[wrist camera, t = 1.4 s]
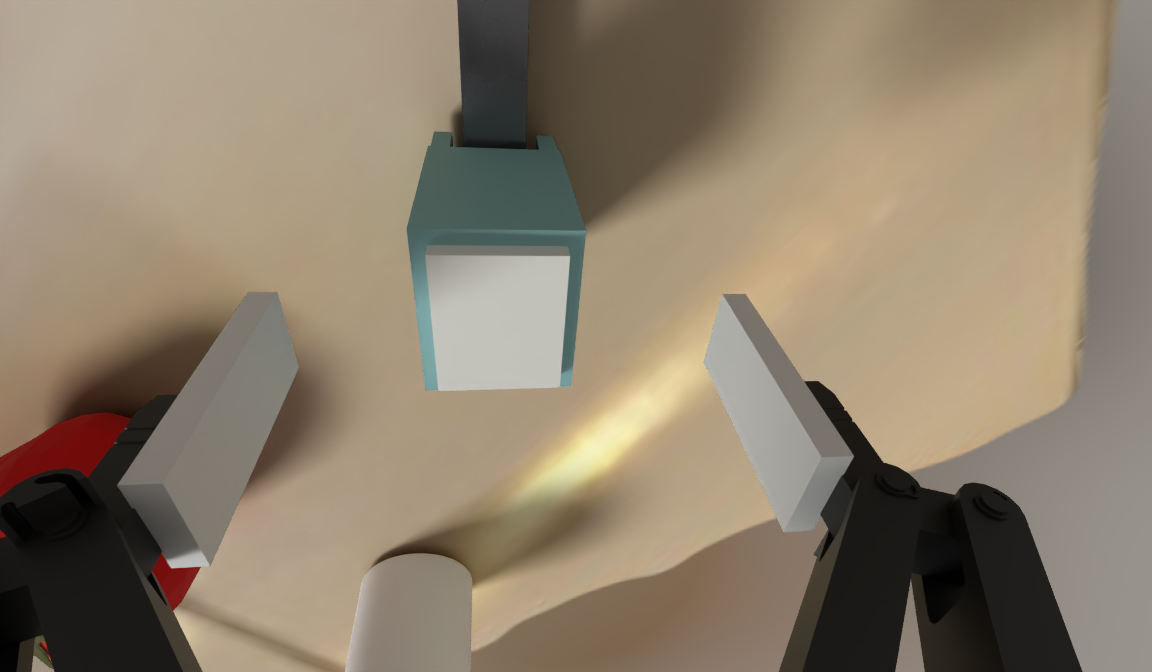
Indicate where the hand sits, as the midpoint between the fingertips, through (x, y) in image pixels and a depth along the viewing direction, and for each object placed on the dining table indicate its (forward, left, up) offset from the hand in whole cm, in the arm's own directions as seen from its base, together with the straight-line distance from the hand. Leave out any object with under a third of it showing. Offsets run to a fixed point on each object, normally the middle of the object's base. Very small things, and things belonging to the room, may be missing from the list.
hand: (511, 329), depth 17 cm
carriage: (0, 0, -10) cm, 10 cm away
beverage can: (-6, -31, -10) cm, 33 cm away
